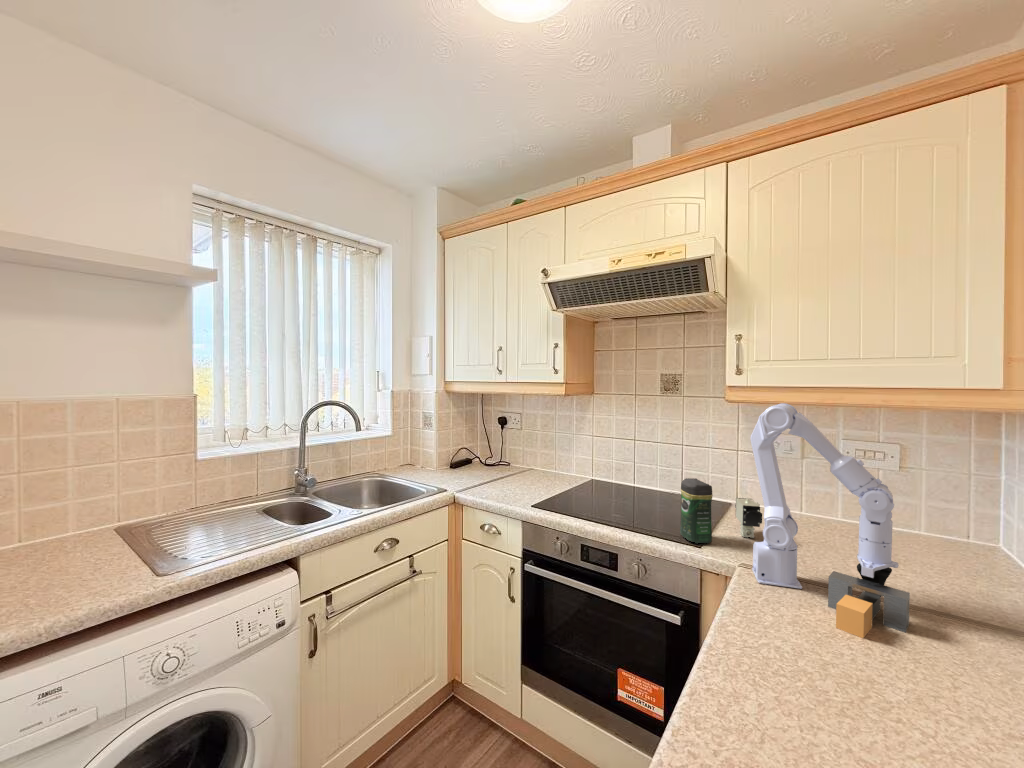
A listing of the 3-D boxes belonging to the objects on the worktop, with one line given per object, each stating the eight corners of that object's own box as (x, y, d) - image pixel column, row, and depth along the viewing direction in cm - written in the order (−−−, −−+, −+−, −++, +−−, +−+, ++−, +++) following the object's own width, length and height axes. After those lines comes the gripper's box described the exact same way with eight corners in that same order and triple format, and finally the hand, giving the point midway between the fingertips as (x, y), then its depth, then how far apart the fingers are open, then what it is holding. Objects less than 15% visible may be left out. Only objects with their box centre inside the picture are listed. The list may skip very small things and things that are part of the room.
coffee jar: (716, 544, 133) (717, 483, 132) (691, 545, 132) (691, 484, 131) (700, 533, 142) (700, 476, 142) (676, 533, 142) (677, 476, 141)
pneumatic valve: (744, 542, 134) (744, 503, 134) (734, 529, 146) (734, 493, 145) (764, 544, 133) (764, 504, 133) (752, 530, 144) (753, 494, 144)
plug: (859, 602, 100) (859, 580, 100) (884, 610, 96) (885, 588, 96) (835, 627, 90) (836, 603, 90) (863, 638, 86) (863, 613, 86)
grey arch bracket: (832, 600, 101) (833, 570, 100) (908, 625, 91) (909, 592, 91) (827, 606, 98) (828, 576, 98) (905, 632, 88) (906, 599, 88)
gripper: (892, 553, 90) (890, 618, 91) (904, 535, 100) (902, 594, 100) (850, 543, 96) (848, 604, 96) (865, 527, 105) (863, 583, 106)
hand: (873, 598), depth 99 cm, fingers closed
